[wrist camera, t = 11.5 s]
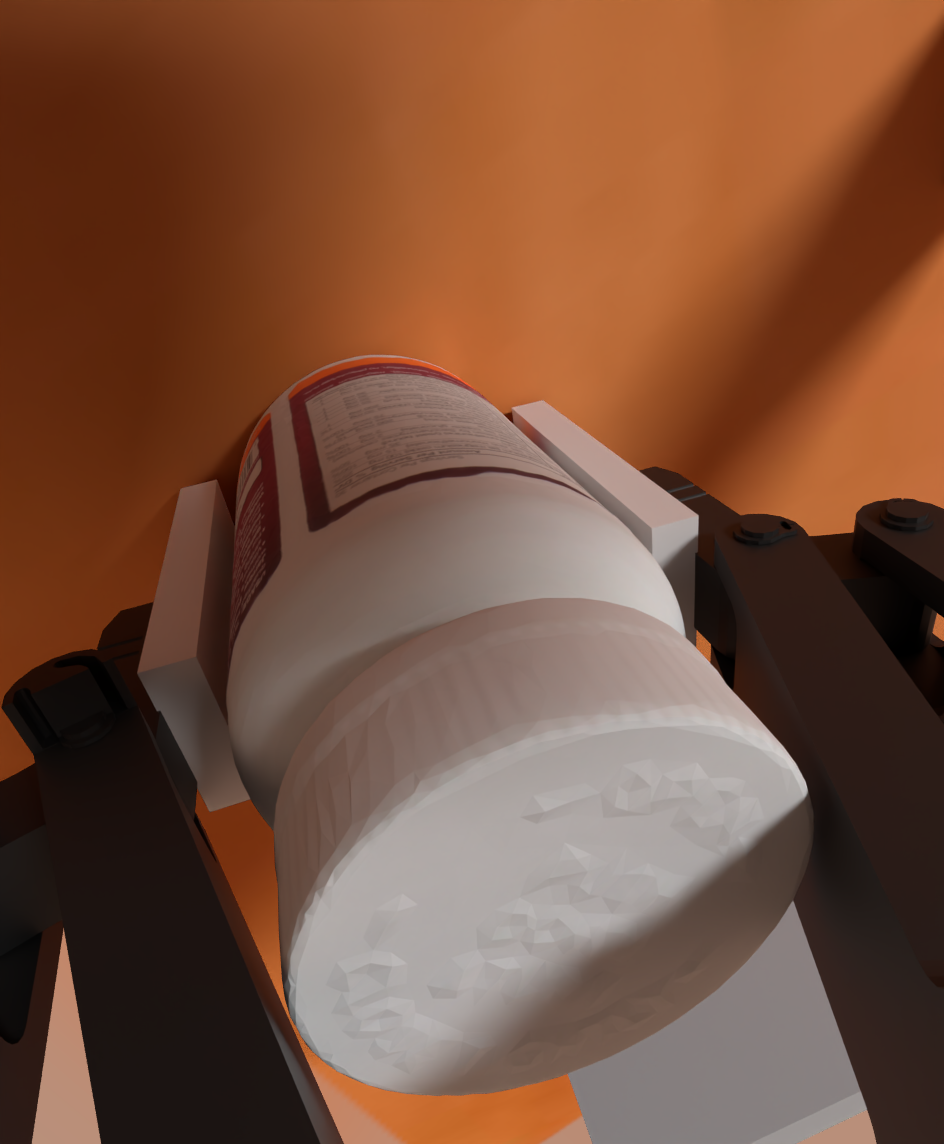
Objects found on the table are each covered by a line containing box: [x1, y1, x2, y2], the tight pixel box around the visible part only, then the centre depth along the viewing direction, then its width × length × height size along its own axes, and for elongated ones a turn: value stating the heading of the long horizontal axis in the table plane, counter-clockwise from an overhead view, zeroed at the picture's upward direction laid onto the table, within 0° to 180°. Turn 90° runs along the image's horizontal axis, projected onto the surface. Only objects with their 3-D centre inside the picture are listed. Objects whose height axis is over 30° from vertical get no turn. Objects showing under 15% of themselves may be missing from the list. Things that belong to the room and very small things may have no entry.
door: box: [568, 901, 867, 1144], centre depth 19 cm, size 15×3×11 cm, turn 104°
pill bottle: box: [226, 355, 814, 1096], centre depth 11 cm, size 6×6×11 cm
